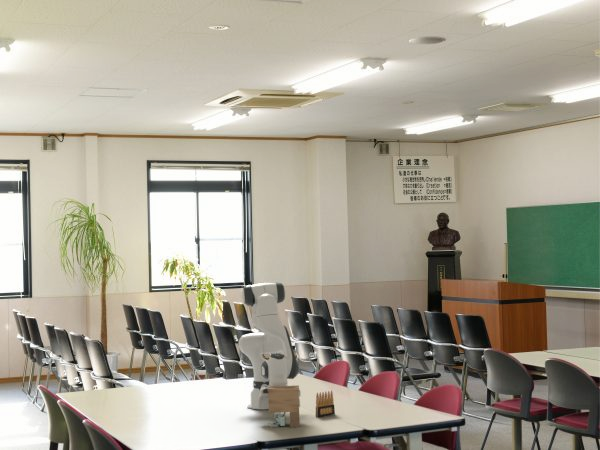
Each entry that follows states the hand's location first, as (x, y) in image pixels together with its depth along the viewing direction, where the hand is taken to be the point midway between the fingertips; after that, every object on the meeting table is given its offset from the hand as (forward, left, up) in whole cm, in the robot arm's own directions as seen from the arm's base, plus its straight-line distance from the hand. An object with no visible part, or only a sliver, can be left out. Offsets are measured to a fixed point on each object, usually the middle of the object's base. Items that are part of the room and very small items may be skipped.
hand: (279, 417), depth 427 cm
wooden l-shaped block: (+9, +2, -2) cm, 9 cm away
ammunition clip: (-13, +22, -2) cm, 26 cm away
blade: (0, 0, -2) cm, 2 cm away
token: (+9, -2, -2) cm, 9 cm away
